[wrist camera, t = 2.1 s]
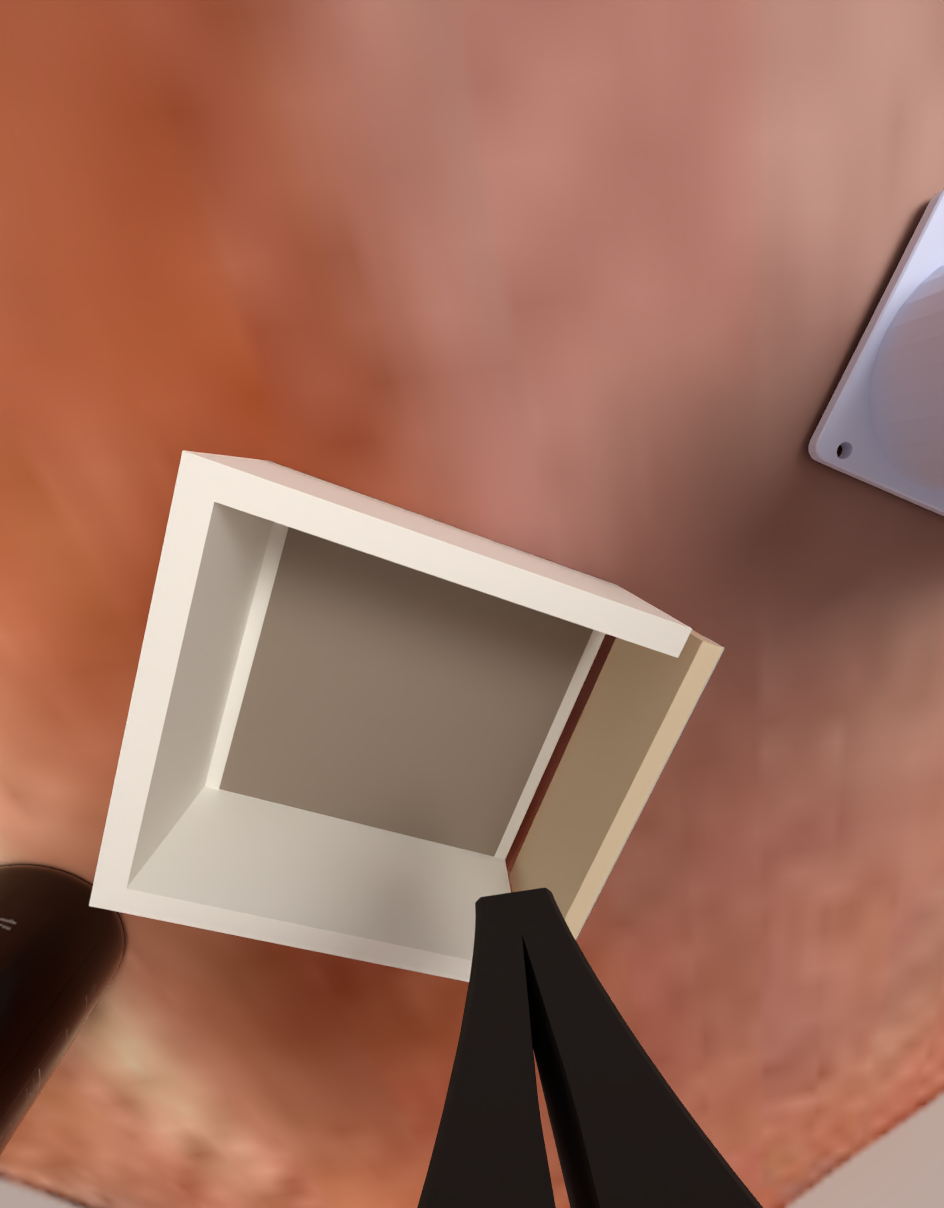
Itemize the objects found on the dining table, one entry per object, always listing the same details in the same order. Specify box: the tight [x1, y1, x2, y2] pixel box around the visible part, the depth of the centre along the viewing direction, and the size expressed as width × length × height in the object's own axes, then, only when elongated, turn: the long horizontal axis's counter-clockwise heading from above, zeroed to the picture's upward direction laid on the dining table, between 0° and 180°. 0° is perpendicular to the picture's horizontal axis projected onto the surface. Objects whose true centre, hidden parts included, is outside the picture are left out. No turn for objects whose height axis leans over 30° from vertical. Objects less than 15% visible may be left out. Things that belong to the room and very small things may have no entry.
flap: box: [509, 630, 725, 940], centre depth 15 cm, size 1×12×4 cm, turn 159°
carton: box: [89, 450, 692, 982], centre depth 14 cm, size 12×12×5 cm
